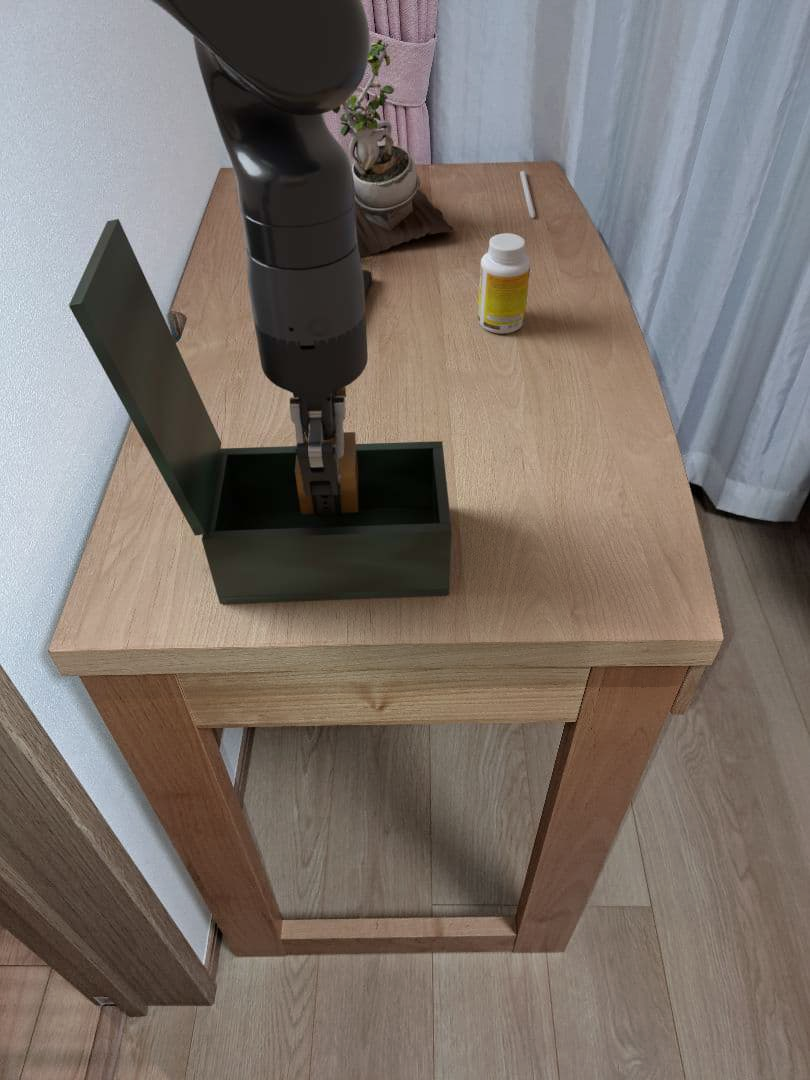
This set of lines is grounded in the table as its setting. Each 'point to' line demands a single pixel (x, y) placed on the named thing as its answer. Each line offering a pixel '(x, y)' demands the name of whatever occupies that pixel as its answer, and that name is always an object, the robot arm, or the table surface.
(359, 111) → the potted plant
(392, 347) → the table surface
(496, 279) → the supplement bottle
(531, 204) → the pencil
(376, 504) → the chest
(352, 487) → the block
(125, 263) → the lid
